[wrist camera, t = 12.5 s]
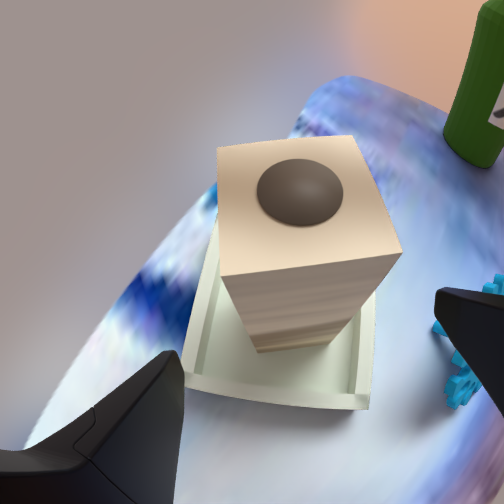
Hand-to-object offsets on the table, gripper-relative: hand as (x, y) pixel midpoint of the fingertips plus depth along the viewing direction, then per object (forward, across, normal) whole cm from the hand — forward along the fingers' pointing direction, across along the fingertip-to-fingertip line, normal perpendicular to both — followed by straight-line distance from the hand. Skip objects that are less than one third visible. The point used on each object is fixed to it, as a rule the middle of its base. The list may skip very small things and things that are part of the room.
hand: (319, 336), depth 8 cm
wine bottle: (+23, -31, -6) cm, 39 cm away
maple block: (+10, 0, +5) cm, 11 cm away
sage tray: (+11, 0, +5) cm, 13 cm away
